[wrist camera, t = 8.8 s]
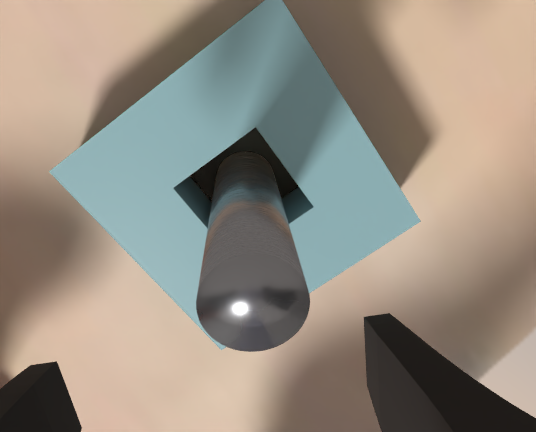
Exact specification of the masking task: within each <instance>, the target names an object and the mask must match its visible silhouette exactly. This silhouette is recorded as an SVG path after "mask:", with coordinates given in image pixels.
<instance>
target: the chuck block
mask: <svg viewBox="0 0 536 432" xmlns="http://www.w3.org/2000/svg"><path fill="white" fill-rule="evenodd" d="M255 127H256V128H257V130H258V131H259V132H260V134H261V135H262V137H263V138H264V139H265V141H266V142H267V143H268V145H269V146H270V148H271V149H272V150H273V152H274V153H275V154H276V156H277V157H278V159H279V160H280V161H281V163H282V164H283V165H284V167H285V168H286V170H287V171H288V172H289V174H290V175H291V176H292V178H293V179H294V180H295V182H296V183H297V185H298V186H299V187H298V188H296V189H295V190H293V191H292V192H291V193H289V194H288V195H286V196H285V197H283V198H282V203H283V206H284V210H285V213H286V216H287V220H288V223H289V226H290V230H291V233H292V237H293V240H294V243H295V247H296V250H297V254H298V257H299V260H300V264H301V267H302V270H303V274H304V277H305V281H306V284H307V287H308V291H309V293H311V292H312V291H314V290H315V289H317V288H318V287H320V286H321V285H323V284H324V283H326V282H328V281H329V280H331V279H332V278H334V277H335V276H337V275H338V274H340V273H341V272H343V271H345V270H346V269H348V268H349V267H351V266H352V265H354V264H355V263H357V262H359V261H360V260H362V259H363V258H365V257H366V256H368V255H369V254H371V253H372V252H374V251H376V250H377V249H379V248H380V247H382V246H383V245H385V244H386V243H388V242H389V241H391V240H393V239H394V238H396V237H397V236H399V235H400V234H402V233H403V232H405V231H407V230H408V229H410V228H411V227H413V226H414V225H416V224H417V223H419V222H420V219H419V218H418V216H417V215H416V213H415V211H414V210H413V208H412V207H411V205H410V203H409V202H408V200H407V199H406V197H405V195H404V194H403V192H402V191H401V189H400V187H399V186H398V184H397V183H396V181H395V179H394V178H393V176H392V175H391V173H390V171H389V170H388V168H387V167H386V165H385V163H384V162H383V160H382V159H381V157H380V155H379V154H378V152H377V151H376V149H375V147H374V146H373V144H372V143H371V141H370V139H369V138H368V136H367V135H366V133H365V131H364V130H363V128H362V127H361V125H360V123H359V122H358V120H357V119H356V117H355V116H354V114H353V112H352V111H351V109H350V108H349V106H348V104H347V103H346V101H345V100H344V98H343V96H342V95H341V93H340V92H339V90H338V88H337V87H336V85H335V84H334V82H333V80H332V79H331V77H330V76H329V74H328V72H327V71H326V69H325V68H324V66H323V64H322V63H321V61H320V60H319V58H318V56H317V55H316V53H315V52H314V50H313V48H312V47H311V45H310V44H309V42H308V40H307V39H306V37H305V36H304V34H303V32H302V31H301V29H300V28H299V26H298V24H297V23H296V21H295V20H294V18H293V16H292V15H291V13H290V12H289V10H288V8H287V7H286V5H285V4H284V2H283V1H282V0H265V1H263V2H262V3H261V4H259V5H258V6H257V7H256V8H254V9H253V10H252V11H251V12H249V13H248V14H247V15H246V16H244V17H243V18H242V19H241V20H239V21H238V22H237V23H236V24H234V25H233V26H232V27H231V28H229V29H228V30H227V31H225V32H224V33H223V34H222V35H220V36H219V37H218V38H217V39H215V40H214V41H213V42H212V43H210V44H209V45H208V46H207V47H205V48H204V49H203V50H202V51H200V52H199V53H198V54H197V55H195V56H194V57H193V58H191V59H190V60H189V61H188V62H186V63H185V64H184V65H183V66H181V67H180V68H179V69H178V70H176V71H175V72H174V73H173V74H171V75H170V76H169V77H168V78H166V79H165V80H164V81H163V82H161V83H160V84H159V85H157V86H156V87H155V88H154V89H152V90H151V91H150V92H149V93H147V94H146V95H145V96H144V97H142V98H141V99H140V100H139V101H137V102H136V103H135V104H134V105H132V106H131V107H130V108H128V109H127V110H126V111H125V112H123V113H122V114H121V115H120V116H118V117H117V118H116V119H115V120H113V121H112V122H111V123H110V124H108V125H107V126H106V127H105V128H103V129H102V130H101V131H100V132H98V133H97V134H96V135H94V136H93V137H92V138H91V139H89V140H88V141H87V142H86V143H84V144H83V145H82V146H81V147H79V148H78V149H77V150H76V151H74V152H73V153H72V154H71V155H69V156H68V157H67V158H66V159H64V160H63V161H62V162H60V163H59V164H58V165H57V166H55V167H54V168H53V169H52V170H50V171H49V172H50V173H51V174H52V175H53V176H54V177H55V178H56V180H57V181H58V182H59V183H60V184H61V185H62V186H63V187H64V188H65V189H66V190H67V191H68V192H69V193H70V194H71V195H72V196H73V197H74V198H75V199H76V200H77V201H78V202H79V203H80V204H81V205H82V206H83V207H84V208H85V210H86V211H87V212H88V213H89V214H90V215H91V216H92V217H93V218H94V219H95V220H96V221H97V222H98V223H99V224H100V225H101V226H102V227H103V228H104V229H105V230H106V231H107V232H108V233H109V234H110V235H111V236H112V237H113V238H114V239H115V241H116V242H117V243H118V244H119V245H120V246H121V247H122V248H123V249H124V250H125V251H126V252H127V253H128V254H129V255H130V256H131V257H132V258H133V259H134V260H135V261H136V262H137V263H138V264H139V265H140V266H141V267H142V268H143V269H144V271H145V272H146V273H147V274H148V275H149V276H150V277H151V278H152V279H153V280H154V281H155V282H156V283H157V284H158V285H159V286H160V287H161V288H162V289H163V290H164V291H165V292H166V293H167V294H168V295H169V296H170V297H171V298H172V299H173V300H174V302H175V303H176V304H177V305H178V306H179V307H180V308H181V309H182V310H183V311H184V312H185V313H186V314H187V315H188V316H189V317H190V318H191V319H192V320H193V321H194V322H195V323H196V324H197V325H198V326H199V327H200V328H201V329H202V330H203V332H204V333H205V334H206V335H207V336H208V337H209V338H210V339H211V340H212V341H213V342H214V343H215V344H216V345H217V346H218V347H219V348H220V349H221V350H222V349H224V348H225V347H226V346H224V345H222V344H220V343H219V342H217V341H216V340H214V339H213V338H212V337H211V336H210V335H209V334H208V333H207V332H206V331H205V330H204V328H203V327H202V325H201V323H200V321H199V318H198V315H197V310H196V299H197V292H198V286H199V280H200V273H201V267H202V261H203V255H204V248H205V242H206V236H207V230H208V223H209V217H210V211H211V205H212V202H211V201H210V200H209V199H208V198H207V196H206V195H205V194H204V193H203V192H202V190H201V189H200V188H199V187H198V186H197V184H196V183H195V182H194V181H193V180H192V178H191V177H190V175H191V174H193V173H194V172H196V171H197V170H198V169H200V168H201V167H202V166H204V165H205V164H206V163H208V162H209V161H210V160H212V159H213V158H214V157H216V156H217V155H219V154H220V153H221V152H223V151H224V150H225V149H227V148H228V147H229V146H231V145H232V144H233V143H235V142H236V141H237V140H239V139H240V138H242V137H243V136H244V135H246V134H247V133H248V132H250V131H251V130H252V129H254V128H255Z"/></svg>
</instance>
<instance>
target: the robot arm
mask: <svg viewBox="0 0 536 432" xmlns="http://www.w3.org/2000/svg"><path fill="white" fill-rule="evenodd" d="M364 331H365V352H366V372H367V387H368V390H369V393H370V396H371V400H372V403H373V406H374V409H375V413H376V416H377V419H378V422H379V425H380V428H381V430H382V432H536V418H534V417H533V416H531V415H529V414H528V413H526V412H524V411H522V410H521V409H519V408H517V407H516V406H514V405H512V404H511V403H509V402H508V401H506V400H505V399H503V398H502V397H500V396H499V395H497V394H496V393H494V392H492V391H491V390H490V389H488V388H487V387H485V386H484V385H482V384H481V383H479V382H478V381H476V380H475V379H473V378H472V377H470V376H469V375H468V374H466V373H465V372H463V371H462V370H461V369H459V368H458V367H457V366H455V365H454V364H453V363H451V362H450V361H449V360H447V359H446V358H445V357H443V356H442V355H441V354H439V353H438V352H437V351H436V350H434V349H433V348H432V347H431V346H429V345H428V344H427V343H426V342H424V341H423V340H422V339H421V338H419V337H418V336H417V335H416V334H414V333H413V332H412V331H411V330H410V329H408V328H407V327H406V326H405V325H403V324H402V323H401V322H400V321H399V320H397V319H396V318H395V317H393V316H392V315H391V314H390V313H388V314H381V315H375V316H368V317H364ZM81 429H82V427H81V425H80V422H79V419H78V417H77V414H76V411H75V409H74V406H73V403H72V401H71V398H70V395H69V393H68V390H67V387H66V385H65V382H64V379H63V377H62V374H61V371H60V369H59V366H58V363H57V362H50V363H43V364H36V365H30V366H29V367H28V368H26V369H25V370H24V371H22V372H21V373H20V374H18V375H17V376H16V377H14V378H13V379H12V380H11V381H10V382H8V383H7V384H6V385H5V386H3V387H2V388H1V389H0V432H81Z"/></svg>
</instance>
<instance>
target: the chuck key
mask: <svg viewBox="0 0 536 432" xmlns="http://www.w3.org/2000/svg"><path fill="white" fill-rule="evenodd" d="M309 306H310V297H309V291H308V287H307V284H306V281H305V277H304V274H303V270H302V267H301V264H300V260H299V257H298V254H297V250H296V247H295V243H294V240H293V237H292V233H291V230H290V226H289V223H288V220H287V216H286V213H285V210H284V206H283V203H282V199H281V196H280V193H279V189H278V186H277V183H276V179H275V176H274V172H273V170H272V167H271V165H270V164H269V163H268V161H267V160H266V159H265V158H263V157H262V156H260V155H259V154H256V153H253V152H248V151H242V152H237V153H234V154H232V155H230V156H228V157H227V158H226V159H225V160H224V161H223V162H222V163H221V164H220V166H219V168H218V170H217V174H216V180H215V186H214V192H213V199H212V205H211V211H210V217H209V223H208V230H207V236H206V242H205V248H204V255H203V261H202V267H201V273H200V280H199V286H198V292H197V299H196V310H197V315H198V318H199V321H200V323H201V325H202V327H203V328H204V330H205V331H206V332H207V333H208V334H209V335H210V336H211V337H212V338H213V339H214V340H216V341H217V342H219V343H220V344H222V345H224V346H226V347H229V348H232V349H235V350H240V351H248V352H251V351H263V350H267V349H271V348H274V347H277V346H279V345H281V344H283V343H284V342H286V341H288V340H289V339H290V338H291V337H293V336H294V335H295V334H296V333H297V332H298V331H299V329H300V328H301V327H302V325H303V324H304V322H305V320H306V318H307V315H308V311H309Z"/></svg>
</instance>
